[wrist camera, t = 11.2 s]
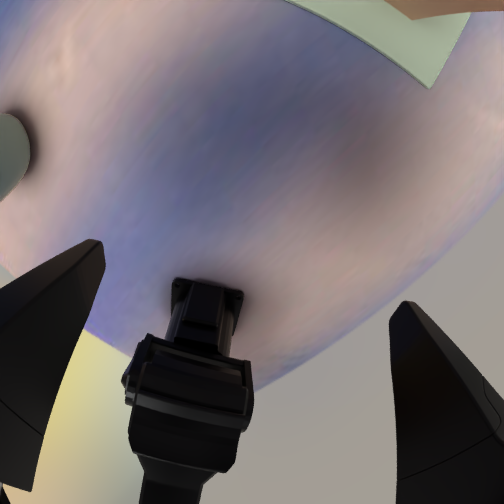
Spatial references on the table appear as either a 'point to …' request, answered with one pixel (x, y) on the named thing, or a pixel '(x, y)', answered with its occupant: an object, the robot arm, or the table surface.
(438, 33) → the mat
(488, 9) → the block
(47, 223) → the table surface
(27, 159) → the cup
